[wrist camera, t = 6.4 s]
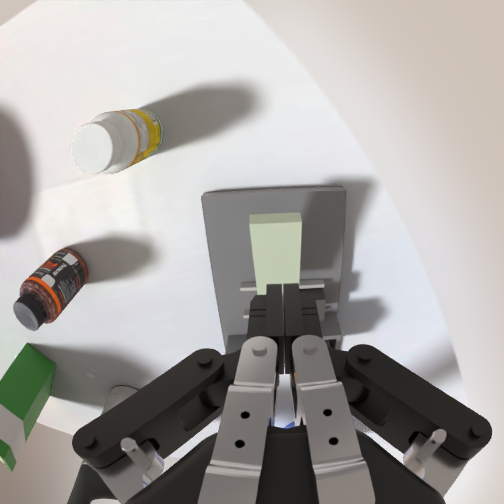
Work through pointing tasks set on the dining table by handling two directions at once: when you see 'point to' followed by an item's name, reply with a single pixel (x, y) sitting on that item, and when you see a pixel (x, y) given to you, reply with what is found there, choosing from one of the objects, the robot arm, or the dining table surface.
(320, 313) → the slider knob
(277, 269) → the rocker
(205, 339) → the dining table surface
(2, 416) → the hardback book
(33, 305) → the supplement bottle
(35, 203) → the dining table surface
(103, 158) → the supplement bottle
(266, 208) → the panel
